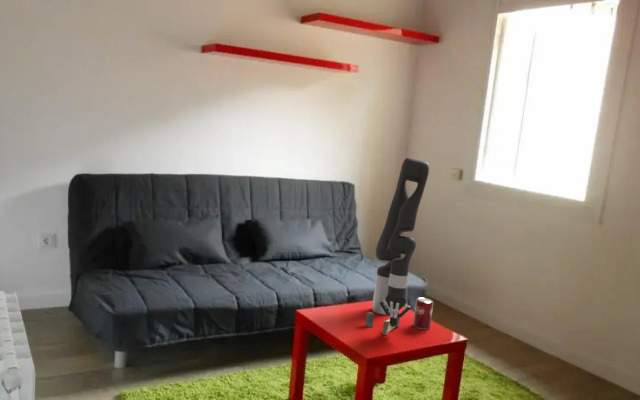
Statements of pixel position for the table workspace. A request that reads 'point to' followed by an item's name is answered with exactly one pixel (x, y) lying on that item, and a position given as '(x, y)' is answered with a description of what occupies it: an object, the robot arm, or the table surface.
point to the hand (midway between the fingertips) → (392, 325)
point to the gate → (386, 327)
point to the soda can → (423, 313)
